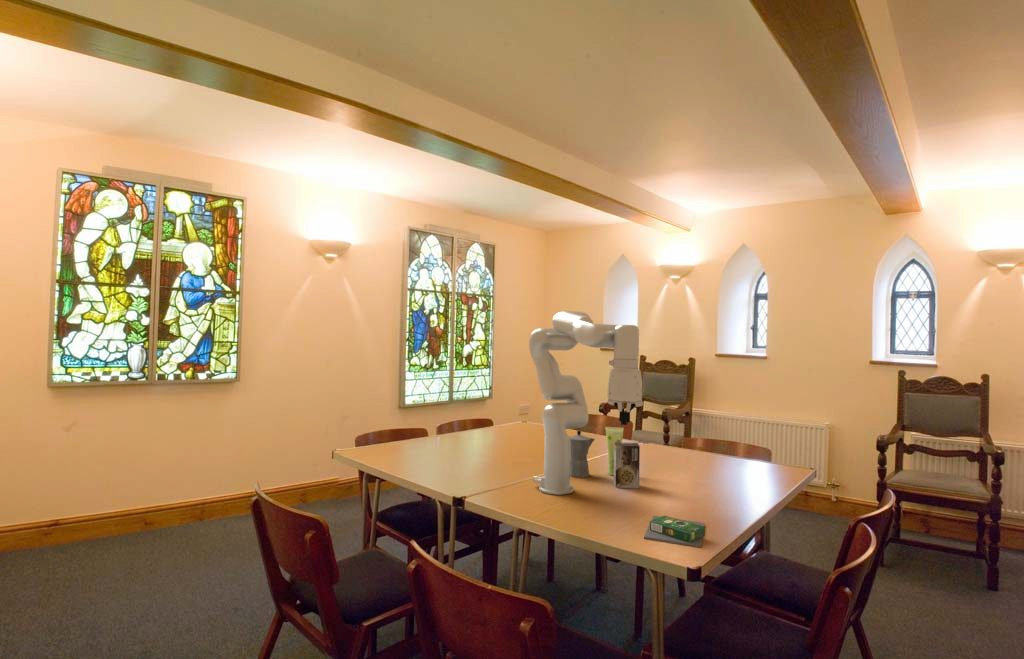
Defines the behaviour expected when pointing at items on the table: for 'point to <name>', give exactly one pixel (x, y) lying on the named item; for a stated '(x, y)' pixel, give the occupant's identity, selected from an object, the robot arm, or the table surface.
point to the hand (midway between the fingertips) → (624, 424)
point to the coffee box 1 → (626, 465)
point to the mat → (665, 538)
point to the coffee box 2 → (677, 528)
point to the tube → (612, 445)
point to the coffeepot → (579, 455)
